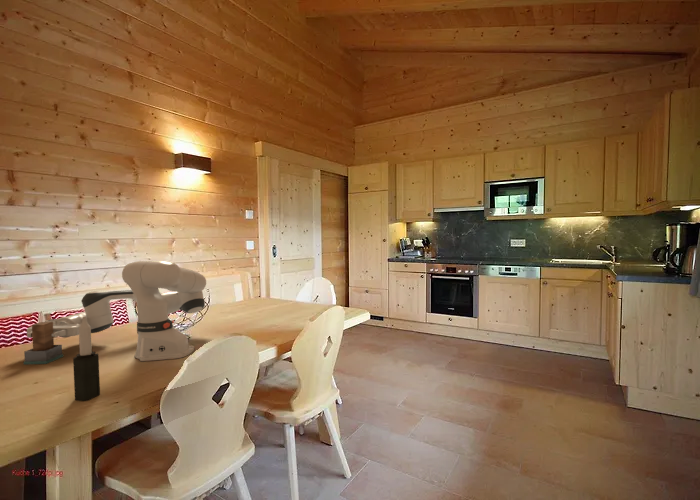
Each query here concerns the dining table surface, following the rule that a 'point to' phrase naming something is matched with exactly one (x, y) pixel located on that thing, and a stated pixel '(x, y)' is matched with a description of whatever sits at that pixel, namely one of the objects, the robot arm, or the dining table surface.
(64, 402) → the dining table surface
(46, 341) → the link block
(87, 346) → the candle
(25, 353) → the keeper collar
